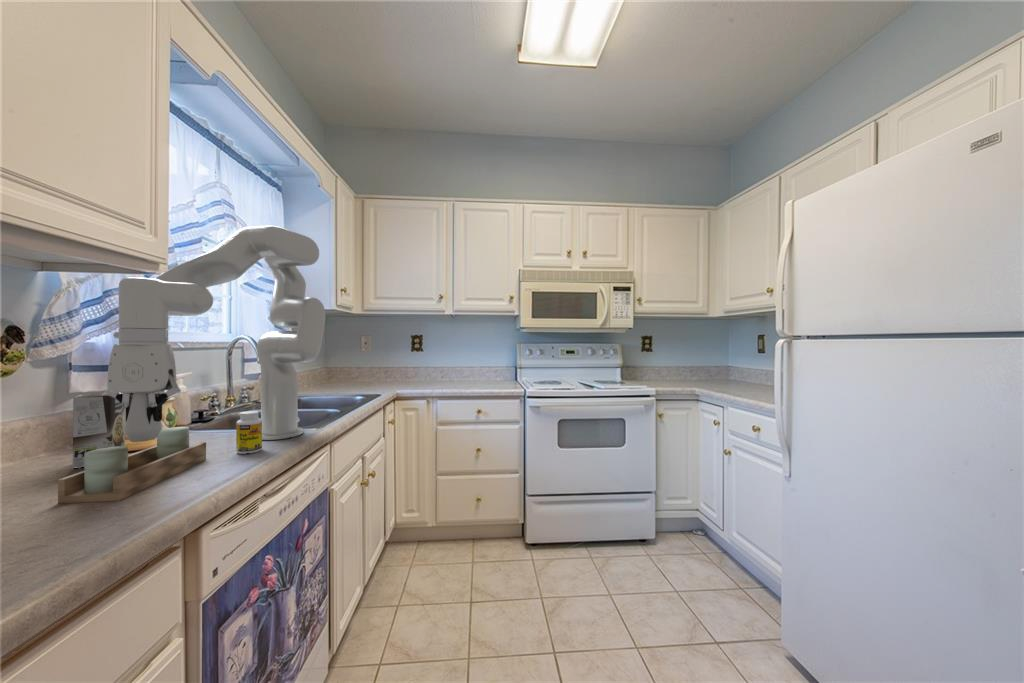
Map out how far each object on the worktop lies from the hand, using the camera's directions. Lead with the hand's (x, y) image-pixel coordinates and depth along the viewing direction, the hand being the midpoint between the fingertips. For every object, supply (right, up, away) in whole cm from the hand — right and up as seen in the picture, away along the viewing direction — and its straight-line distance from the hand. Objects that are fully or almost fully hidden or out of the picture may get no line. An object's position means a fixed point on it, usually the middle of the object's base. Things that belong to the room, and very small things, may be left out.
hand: (144, 424), depth 81 cm
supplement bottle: (+9, -11, +19) cm, 24 cm away
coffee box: (-20, -11, +10) cm, 25 cm away
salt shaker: (0, -3, 0) cm, 3 cm away
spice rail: (0, -11, 0) cm, 11 cm away
